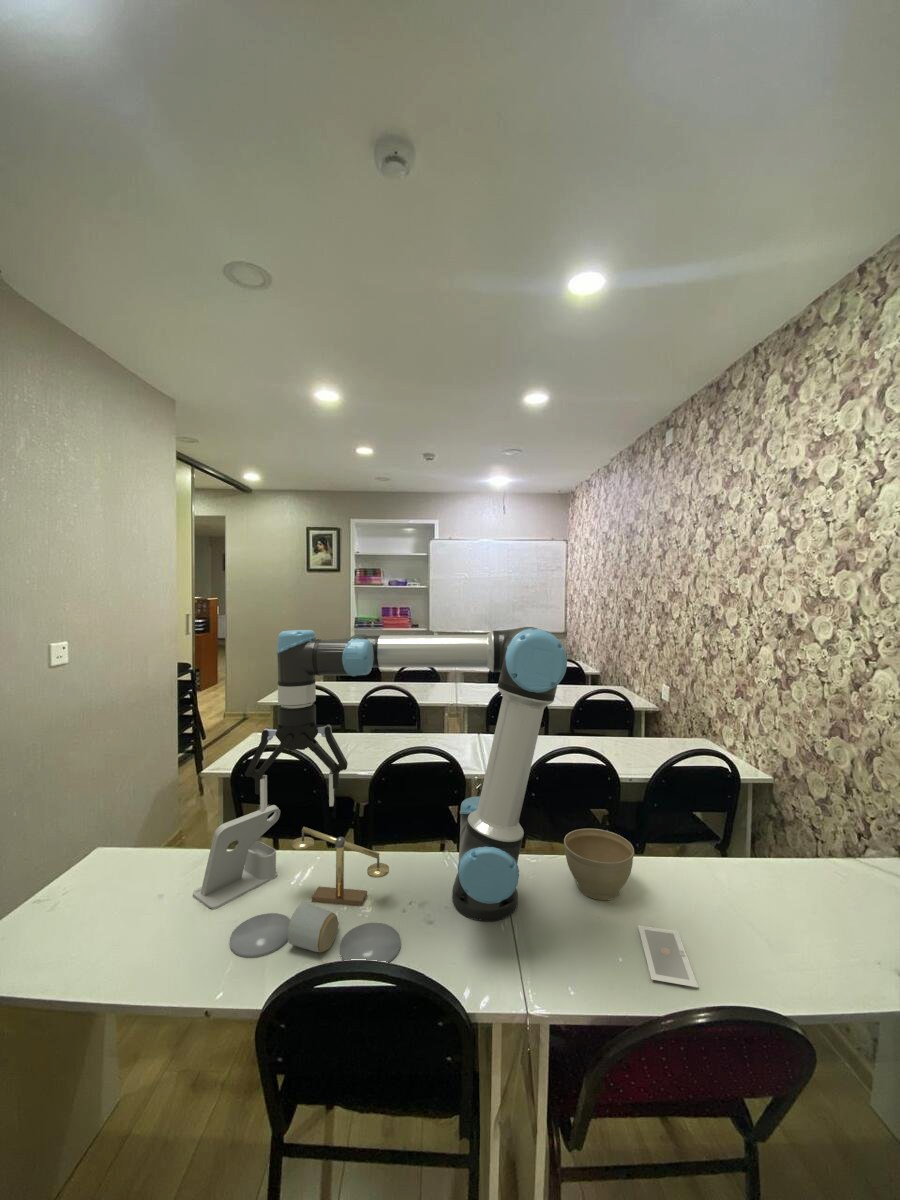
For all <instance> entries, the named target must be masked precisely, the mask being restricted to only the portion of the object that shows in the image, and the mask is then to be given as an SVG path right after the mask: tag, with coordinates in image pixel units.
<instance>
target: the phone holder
mask: <svg viewBox="0 0 900 1200" xmlns="http://www.w3.org/2000/svg"><path fill="white" fill-rule="evenodd" d="M272 813H273V814H272ZM271 814H272V815H271ZM270 815H271V816H270ZM269 816H270V817H269ZM280 817H281V809H279V807H278V806H277V805H275V804H272V805H270V806H269V805H268V806H267V808H266V810H265V811H264V812H260V809H258V810H256V811H253V812H250V813H248V814H245V815H242V816H240V817H237V818H235V819H231V820H229V821H226V822H224V823H221V825H219V826H218V827H217V828H216V829H215V831H214V833H213V837H212V841H211V846H210V849H209V850H210V851H209V854H208V860H207V863H206V868H205V870H204V871H205V872H204V875H203V880H202V886H200V887H199V888H196V889H195V890H194V891H193V892H192V898H194V899H195V900H197V901H198V902H199V903H201V904H202V905H204V907H206V908H207V909H208V910H210V909H211V910H212V911H213V910H218V909H220V908H222V907H223V906H224V907H225V905H228V904H229V903H231V902H233V901H235V900H237V899H239V898H241V897H243V896H244V895H246V894H248V893H250V892H252V891H255V890H256V889H258V888H259V887H262V886H263V885H265V884H268V883H269V882H271V881H274V880H275V879H277V877H278V871H276V870H277V868H276V867H277V851H276V849H275V848H274V847H273V846H272V847H271V846H270V845H269V844H268V845H267V844H266V843H264V842H262V841H258V840H259V839H260V838H261V837H262V836H263V835H265V833H266V832H268V831H269V830H270V828H271V827H272V826H274V825H275V824H276V823H277V822H278V820H279V818H280ZM235 841H237V842H238V843H237V844H236V845H235V846H234V848H233V849H231V850H230V851H229V850H228V847H229V845H230V844H232V843H233V842H235Z"/></svg>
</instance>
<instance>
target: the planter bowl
mask: <svg viewBox="0 0 900 1200" xmlns="http://www.w3.org/2000/svg"><path fill="white" fill-rule="evenodd" d="M563 845H564V850H565V851H564V852H565V858H566V859H565V860H566V864H567V867H568V869H569V871H570V873H571V875H572V876H573V878H574V880H575V881H576V883H577V886H578V889H579V890H580V892H582V893H583V894H585V896H587V897H589V898H592V899H594V900H598V901H610V900H613V899H616V898H617V897H618V896H619V895H620V891H621V889H623V887H624V886H625V885H626V883H627V881H628V880H629V878H630V875H631V872H632V869H633V861H634V857H635V849H634V846H633V844H632V843H631V842H630V841H629V840H627V839H626V838H624V837H623V836H621V835H620V834H617V833H615V832H612V831H608V830H604V829H599V828H580V829H575V830H572V831H570V832H568V833H567V834H566V835H565V837H564V839H563Z"/></svg>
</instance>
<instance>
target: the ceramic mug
mask: <svg viewBox="0 0 900 1200" xmlns="http://www.w3.org/2000/svg"><path fill="white" fill-rule="evenodd" d="M289 919H290V922H289V926H288V931H287V939H288V942H287V943H288V944H289V945H292V946H295V947H298V948H302V949H305V950H307V951H308V950H309V951H311V952H314V953H324V952H326V951H327V950H329V948H330V947H331V946H332V944H333V942H334V940H335V938H336V935H337V931H338V929H339V925H340V922H339V919H338V916H337V914H336V913H335V912H333V911H332V910H330V909H326V908H323V907H320V906H318V905H316V904H314V903H313V904H312V903H310V902H307V901H305V902H301V903H300V904H299V905H298V906H297V907H296V908H295V910H294V911H293V913H292V914H291V917H290V918H289Z"/></svg>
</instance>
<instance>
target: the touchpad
mask: <svg viewBox="0 0 900 1200" xmlns="http://www.w3.org/2000/svg"><path fill="white" fill-rule="evenodd" d="M637 927H638V931H639V936H640V939H641V944H642V948H643V950H644V956H645V959H646V962H647V963H646V964H647V968H648V972H649V975H650V979H651V980H654V981H658V982H663V983H664V982H665V983H670V984H674V985H675V984H676V985H683V986H688V987H693V988H699V986H698V982H697V980H696V977H695V974H694V972H693V968H692V966H691V964H690V961H689V957H688V955H687V953H686V950H685V948H684V945H683V942H682V940H681V936H680V933H679V932H678V930H673V929H666V928H662V927H661V928H660V927H654V926H646V925H641V924H640V925H639V924H638V925H637Z"/></svg>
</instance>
